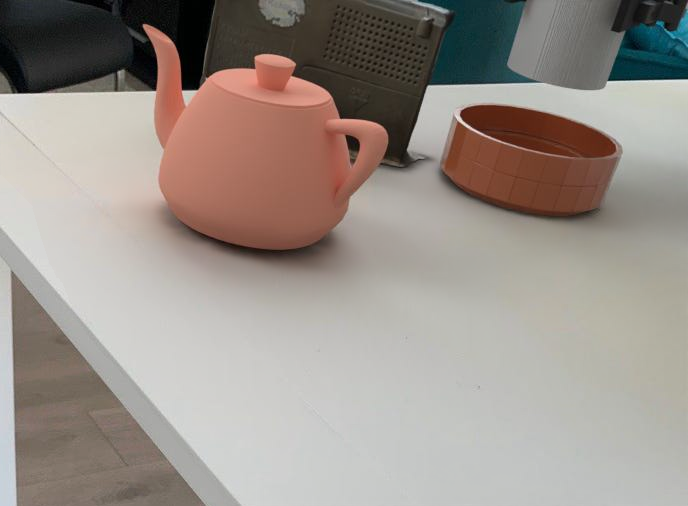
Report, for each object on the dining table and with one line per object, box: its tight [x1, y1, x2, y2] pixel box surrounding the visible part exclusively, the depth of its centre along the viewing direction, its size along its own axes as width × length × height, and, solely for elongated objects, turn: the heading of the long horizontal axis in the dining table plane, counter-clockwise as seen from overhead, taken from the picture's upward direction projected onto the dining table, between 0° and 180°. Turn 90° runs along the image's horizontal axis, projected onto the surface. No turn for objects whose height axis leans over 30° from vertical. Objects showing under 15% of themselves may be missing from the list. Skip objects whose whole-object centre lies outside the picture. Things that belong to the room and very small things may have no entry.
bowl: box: [439, 102, 624, 217], centre depth 99 cm, size 16×16×6 cm
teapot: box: [142, 23, 388, 251], centre depth 80 cm, size 22×15×12 cm
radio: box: [199, 0, 456, 168], centre depth 99 cm, size 23×9×15 cm, turn 70°
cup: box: [506, 0, 626, 91], centre depth 91 cm, size 9×9×12 cm
